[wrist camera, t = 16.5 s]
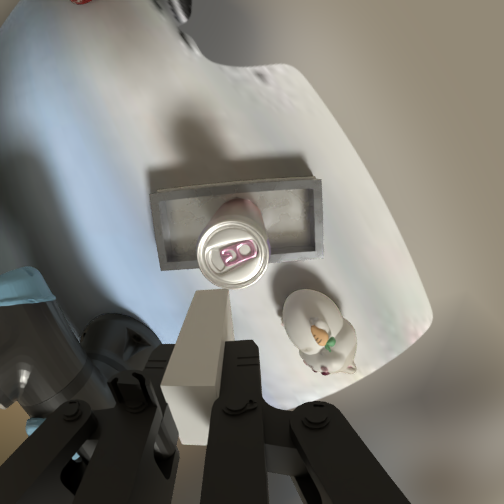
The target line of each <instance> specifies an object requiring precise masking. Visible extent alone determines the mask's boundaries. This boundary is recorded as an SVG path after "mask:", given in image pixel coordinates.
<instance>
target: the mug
mask: <svg viewBox="0 0 504 504" xmlns="http://www.w3.org/2000/svg"><path fill="white" fill-rule="evenodd" d="M70 1H71V2H73V3H75V4H85V3H88V2H90V1H92V0H70Z"/></svg>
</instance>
